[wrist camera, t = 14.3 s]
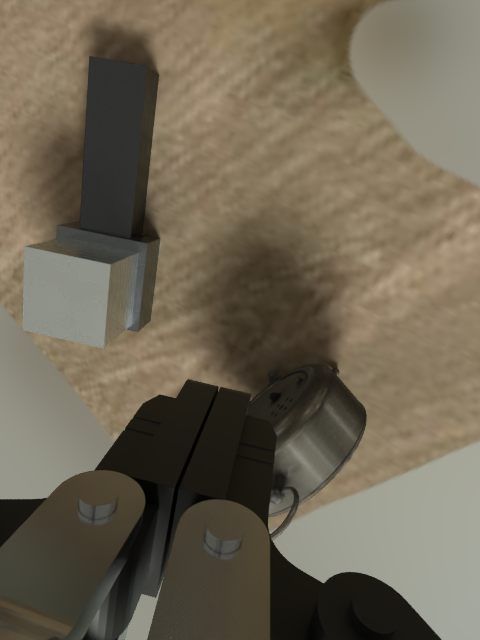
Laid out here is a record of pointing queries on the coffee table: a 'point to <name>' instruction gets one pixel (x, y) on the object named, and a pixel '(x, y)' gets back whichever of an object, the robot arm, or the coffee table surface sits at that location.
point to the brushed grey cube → (78, 290)
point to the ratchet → (119, 170)
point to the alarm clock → (307, 433)
